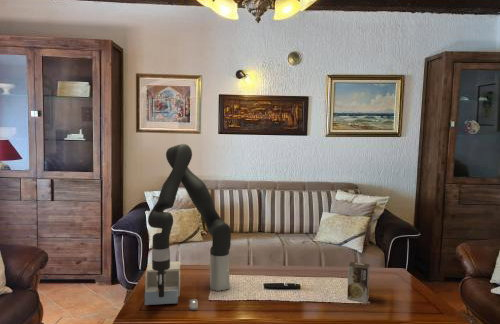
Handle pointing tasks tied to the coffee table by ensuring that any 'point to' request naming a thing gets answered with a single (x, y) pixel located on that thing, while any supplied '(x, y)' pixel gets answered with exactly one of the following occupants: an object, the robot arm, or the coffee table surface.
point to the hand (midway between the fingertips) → (161, 296)
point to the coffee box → (358, 281)
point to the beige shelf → (171, 276)
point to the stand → (193, 304)
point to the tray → (154, 298)
